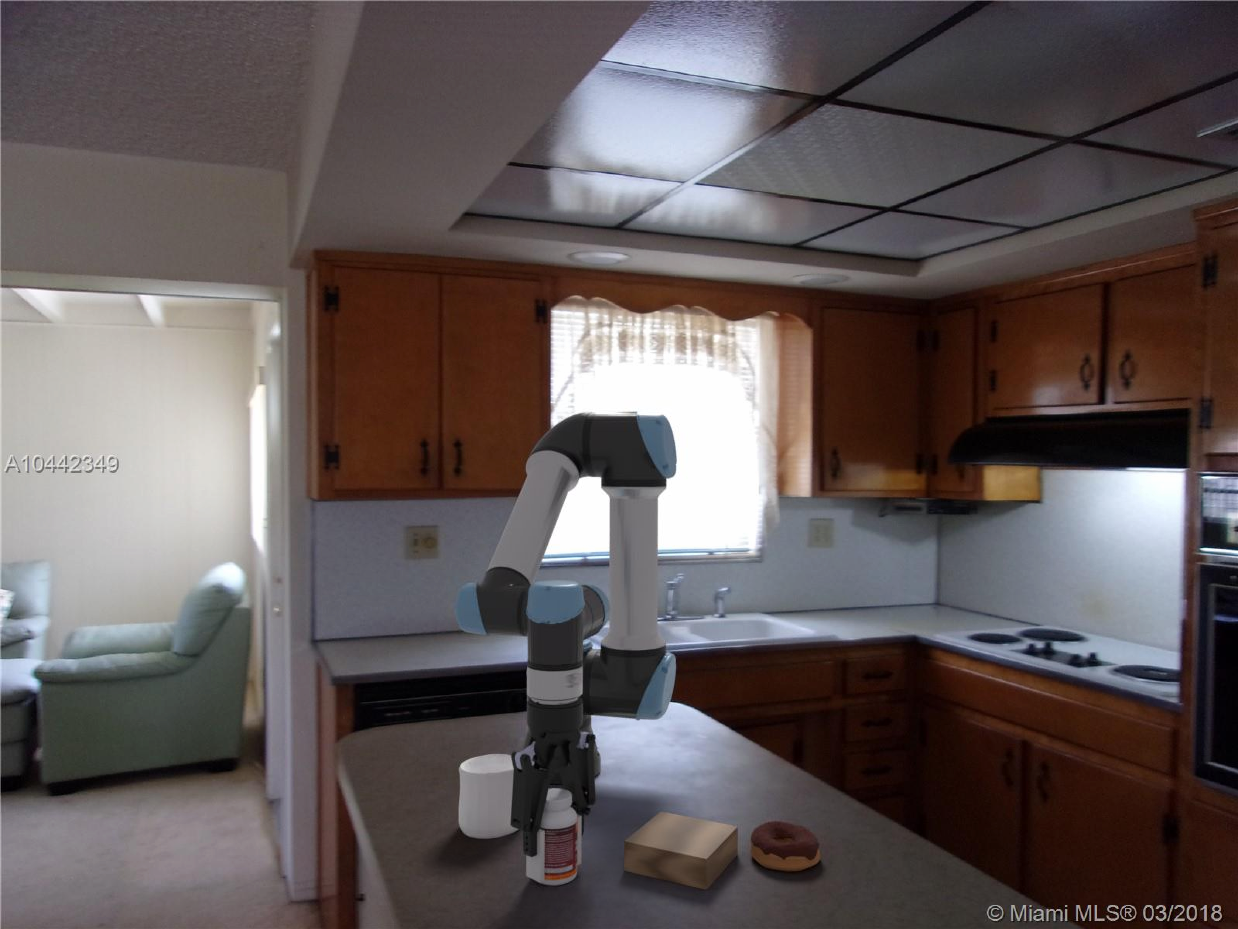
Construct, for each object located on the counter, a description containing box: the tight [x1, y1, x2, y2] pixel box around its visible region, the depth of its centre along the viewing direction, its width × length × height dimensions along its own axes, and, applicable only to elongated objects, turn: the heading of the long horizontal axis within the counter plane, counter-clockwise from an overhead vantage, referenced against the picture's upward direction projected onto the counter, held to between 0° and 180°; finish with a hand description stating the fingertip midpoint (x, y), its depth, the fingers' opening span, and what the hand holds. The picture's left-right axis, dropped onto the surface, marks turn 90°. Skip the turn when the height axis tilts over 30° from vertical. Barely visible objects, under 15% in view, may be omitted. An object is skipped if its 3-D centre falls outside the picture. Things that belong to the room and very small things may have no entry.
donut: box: [749, 820, 821, 872], centre depth 127 cm, size 10×10×4 cm
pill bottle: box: [531, 787, 578, 886], centre depth 121 cm, size 6×6×11 cm
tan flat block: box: [623, 811, 739, 891], centre depth 126 cm, size 12×12×4 cm
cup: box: [458, 753, 519, 840], centre depth 138 cm, size 10×10×10 cm
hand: (554, 869), depth 121 cm, fingers closed on pill bottle, 6 cm apart
